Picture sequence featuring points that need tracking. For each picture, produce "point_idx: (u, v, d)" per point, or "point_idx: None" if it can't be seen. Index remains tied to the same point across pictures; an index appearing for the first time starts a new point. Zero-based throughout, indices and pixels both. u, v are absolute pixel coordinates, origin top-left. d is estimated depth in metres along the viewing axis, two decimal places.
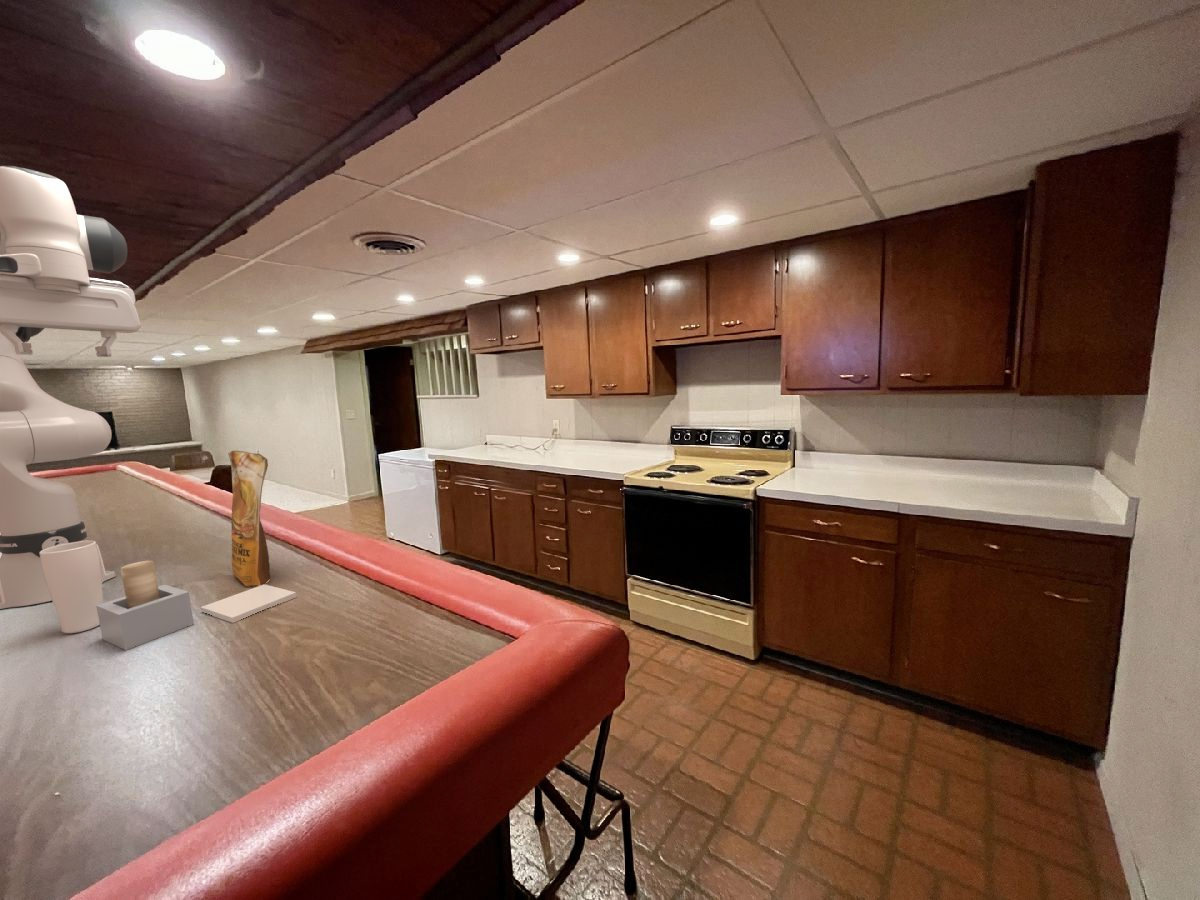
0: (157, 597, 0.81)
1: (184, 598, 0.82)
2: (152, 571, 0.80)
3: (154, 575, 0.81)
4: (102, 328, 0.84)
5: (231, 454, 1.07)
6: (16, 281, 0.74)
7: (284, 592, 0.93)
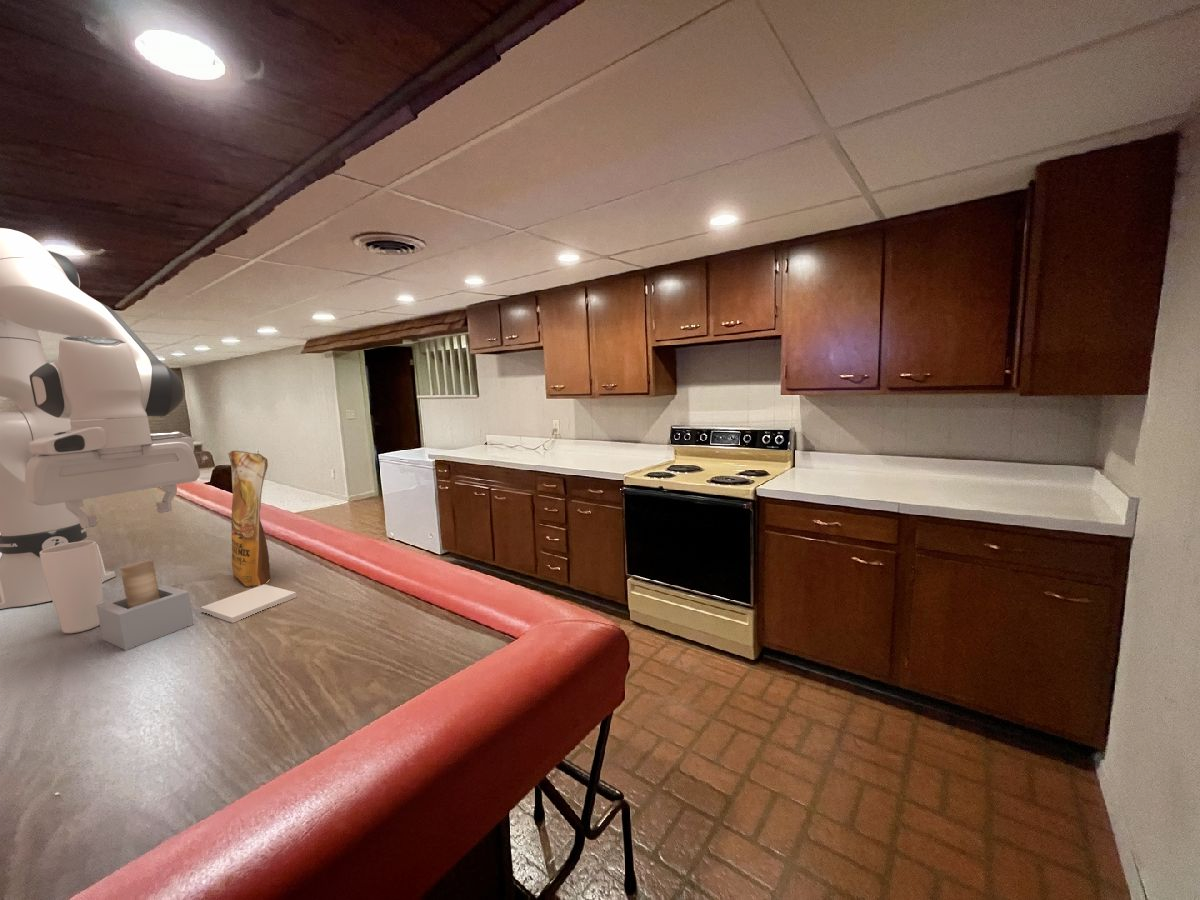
0: (157, 597, 0.81)
1: (184, 598, 0.82)
2: (152, 571, 0.80)
3: (154, 575, 0.81)
4: (164, 485, 0.81)
5: (231, 454, 1.07)
6: (83, 457, 0.72)
7: (284, 592, 0.93)
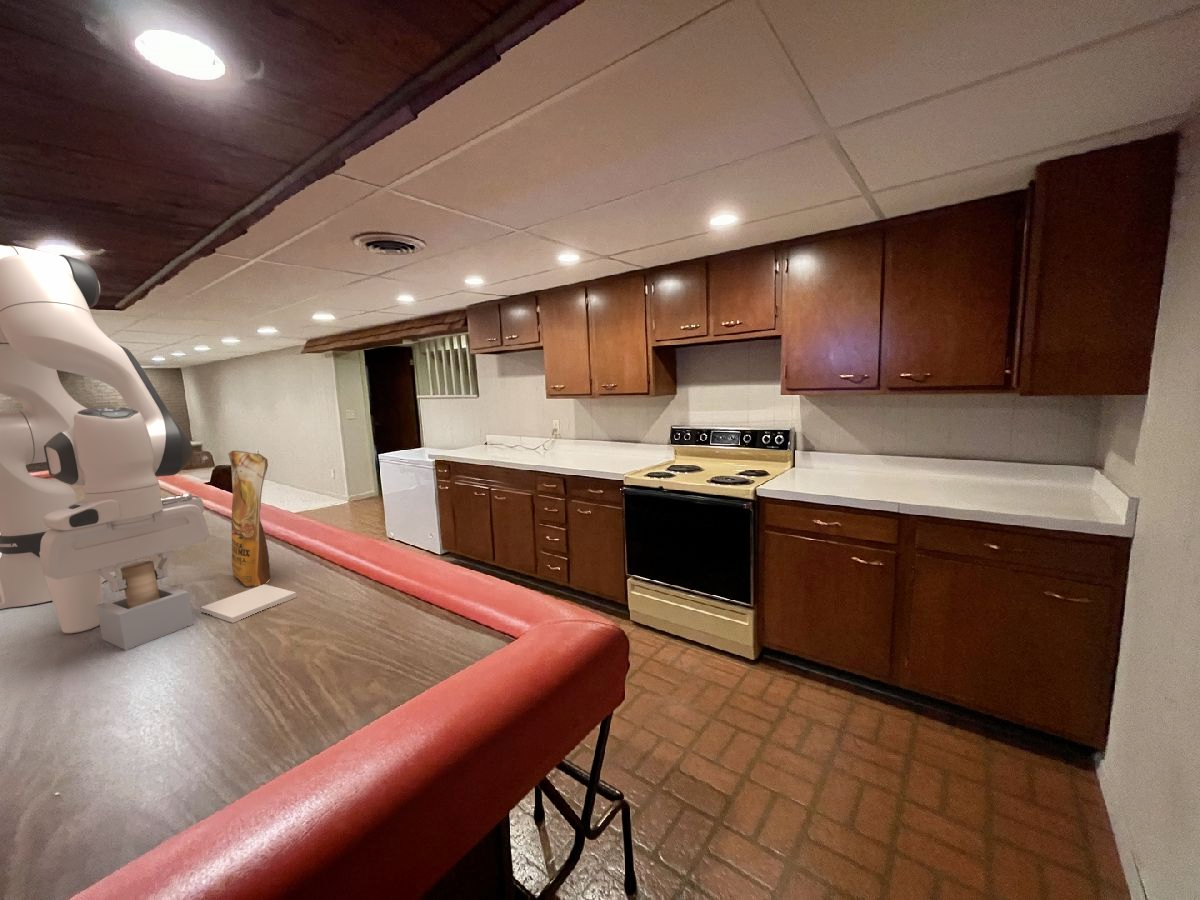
0: (157, 597, 0.81)
1: (184, 598, 0.82)
2: (152, 571, 0.80)
3: (154, 575, 0.81)
4: (174, 549, 0.83)
5: (231, 454, 1.07)
6: (96, 529, 0.73)
7: (284, 592, 0.93)
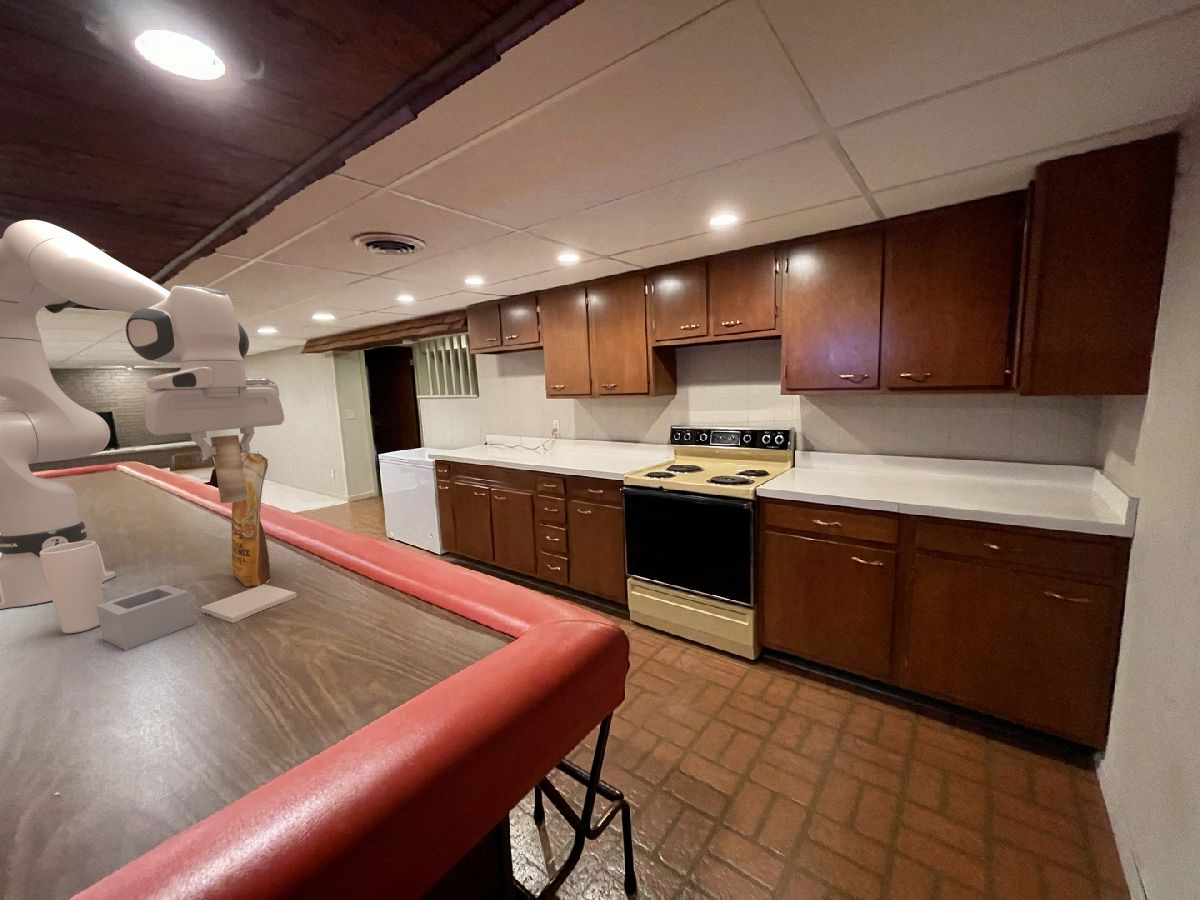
0: (242, 468, 0.87)
1: (184, 598, 0.82)
2: (237, 443, 0.86)
3: (239, 447, 0.87)
4: (256, 426, 0.89)
5: None
6: (194, 393, 0.80)
7: (284, 592, 0.93)
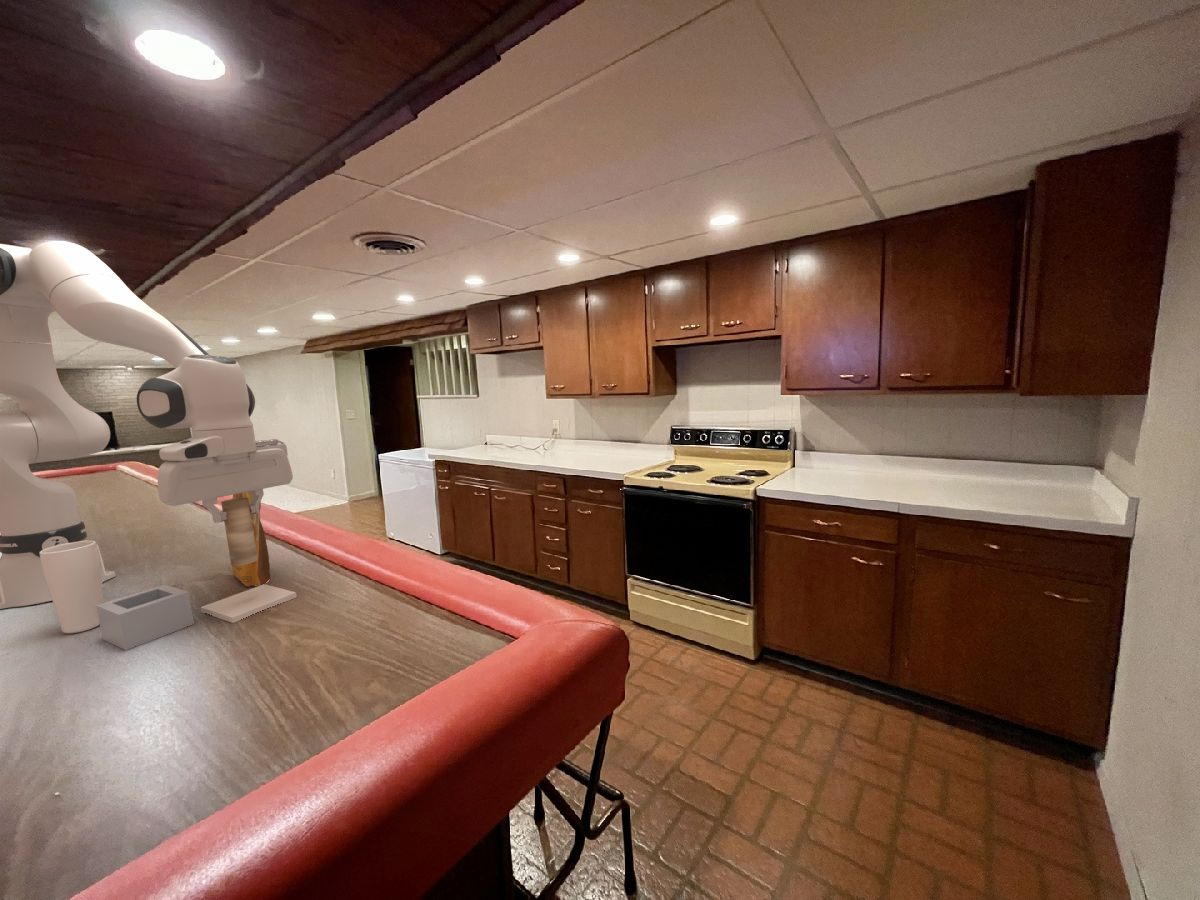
0: (252, 530, 0.89)
1: (184, 598, 0.82)
2: (247, 506, 0.88)
3: (249, 510, 0.89)
4: (265, 487, 0.91)
5: None
6: (205, 463, 0.81)
7: (284, 592, 0.93)
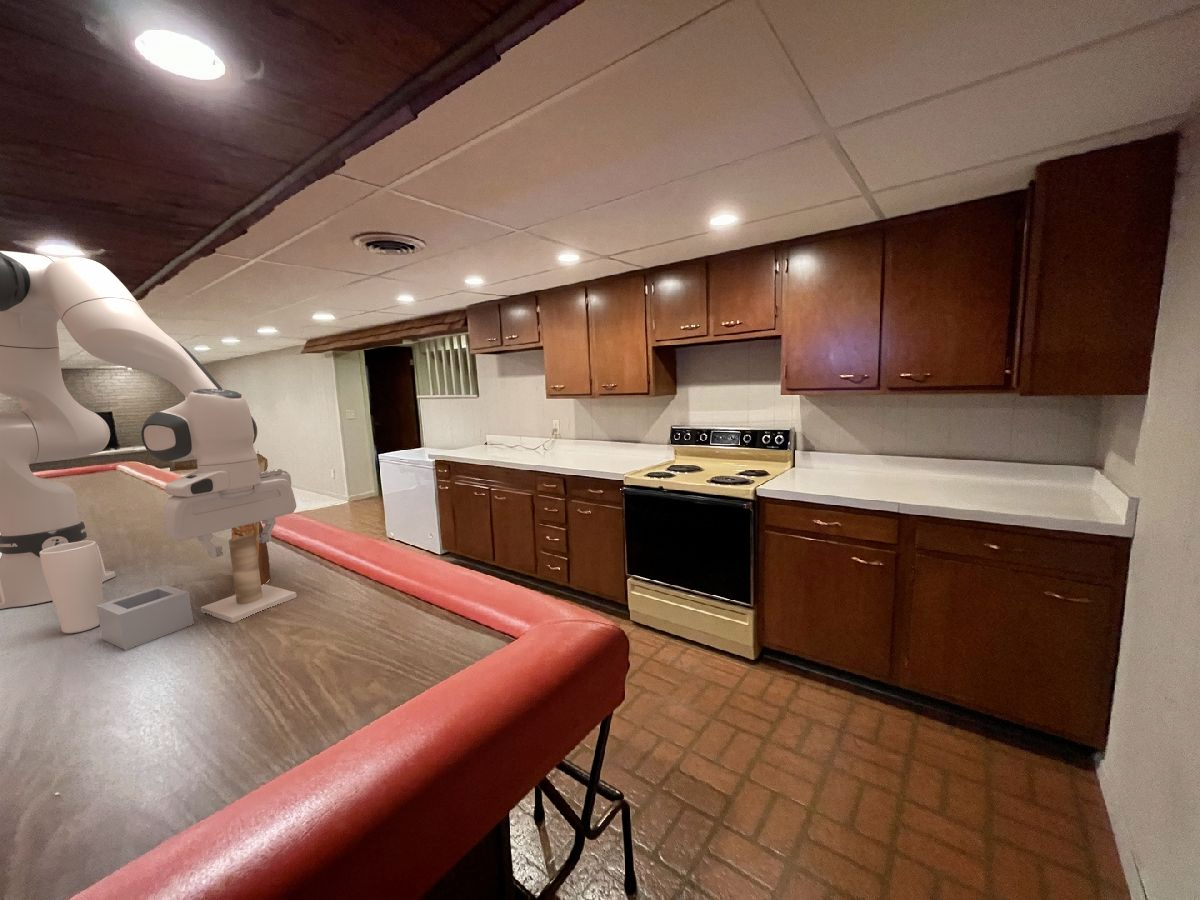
0: (258, 568, 0.90)
1: (184, 598, 0.82)
2: (254, 545, 0.89)
3: (256, 548, 0.90)
4: (269, 518, 0.91)
5: None
6: (211, 497, 0.82)
7: (284, 592, 0.93)
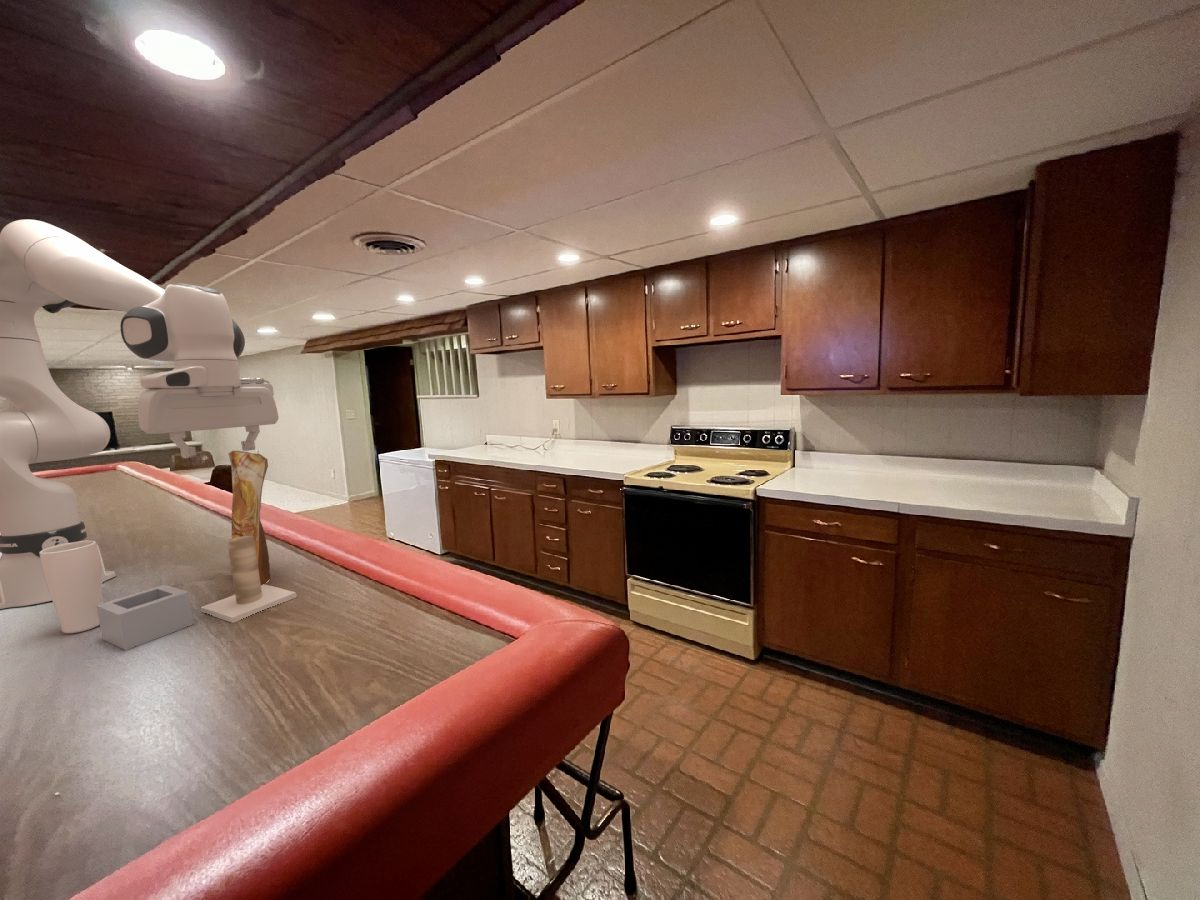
0: (257, 568, 0.90)
1: (184, 598, 0.82)
2: (253, 545, 0.89)
3: (254, 548, 0.90)
4: (249, 425, 0.89)
5: (231, 454, 1.07)
6: (187, 392, 0.79)
7: (284, 592, 0.93)
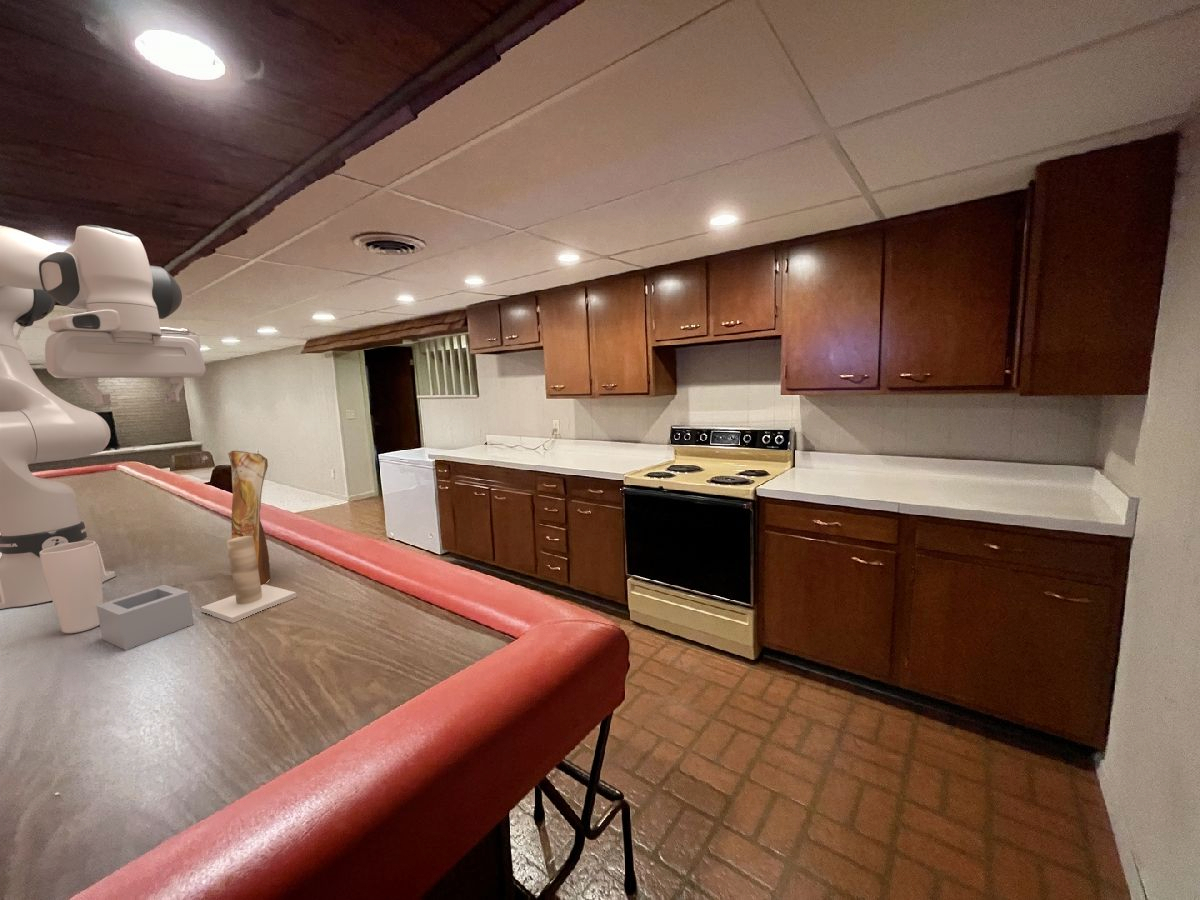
0: (257, 568, 0.90)
1: (184, 598, 0.82)
2: (252, 545, 0.89)
3: (254, 548, 0.90)
4: (172, 375, 0.87)
5: (231, 454, 1.07)
6: (98, 336, 0.77)
7: (284, 592, 0.93)
